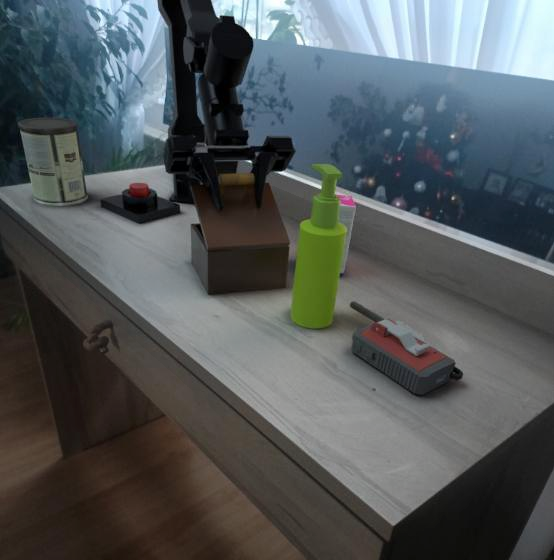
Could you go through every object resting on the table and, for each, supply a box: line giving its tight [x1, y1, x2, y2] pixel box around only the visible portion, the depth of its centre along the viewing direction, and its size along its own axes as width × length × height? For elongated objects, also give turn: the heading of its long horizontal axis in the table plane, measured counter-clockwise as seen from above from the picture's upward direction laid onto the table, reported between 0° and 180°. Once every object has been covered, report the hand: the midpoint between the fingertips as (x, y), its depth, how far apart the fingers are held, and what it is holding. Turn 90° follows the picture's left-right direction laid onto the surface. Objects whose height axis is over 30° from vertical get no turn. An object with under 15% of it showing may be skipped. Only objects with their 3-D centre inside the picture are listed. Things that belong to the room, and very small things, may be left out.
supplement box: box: [317, 192, 357, 277], centre depth 82 cm, size 6×6×12 cm
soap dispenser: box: [290, 163, 347, 330], centre depth 66 cm, size 6×7×20 cm
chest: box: [190, 222, 290, 296], centre depth 79 cm, size 11×12×7 cm
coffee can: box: [17, 117, 89, 207], centre depth 99 cm, size 10×10×14 cm
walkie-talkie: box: [349, 300, 464, 396], centre depth 65 cm, size 9×4×20 cm
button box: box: [99, 188, 181, 225], centre depth 100 cm, size 10×12×4 cm
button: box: [128, 182, 150, 196], centre depth 99 cm, size 4×4×2 cm
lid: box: [190, 172, 291, 251], centre depth 74 cm, size 12×12×4 cm
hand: (240, 208), depth 74 cm, fingers open, 5 cm apart
